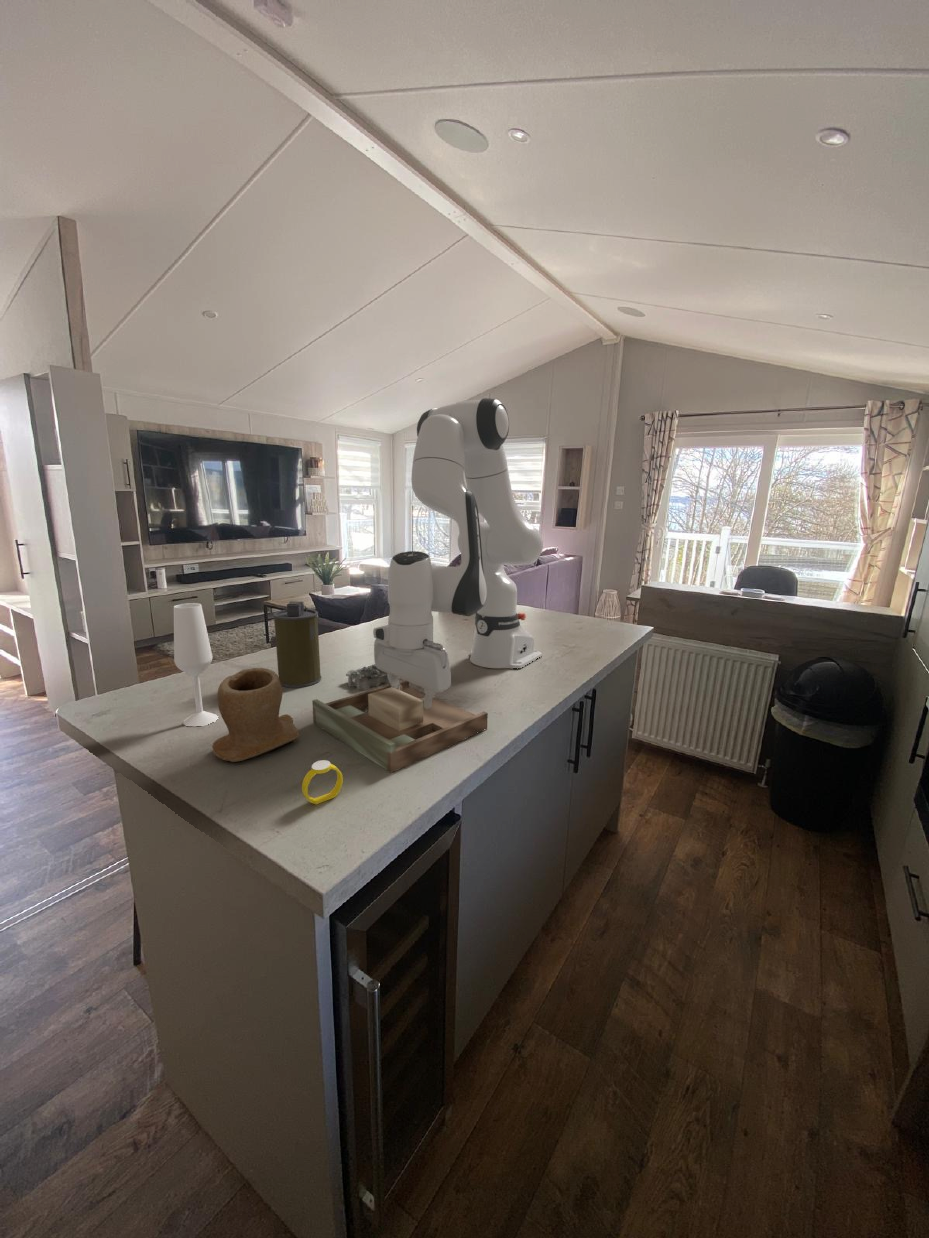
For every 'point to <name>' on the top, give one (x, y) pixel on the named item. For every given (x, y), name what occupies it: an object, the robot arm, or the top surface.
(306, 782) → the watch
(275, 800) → the top surface
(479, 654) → the robot arm
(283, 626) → the canister
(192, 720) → the champagne flute
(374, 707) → the block
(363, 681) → the egg carton
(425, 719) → the brown shallow open piece
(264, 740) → the clay pipe
